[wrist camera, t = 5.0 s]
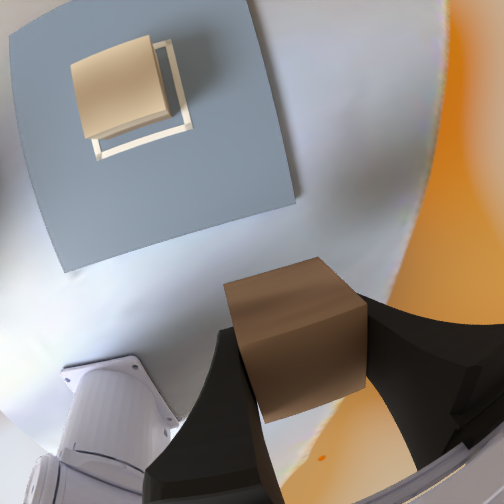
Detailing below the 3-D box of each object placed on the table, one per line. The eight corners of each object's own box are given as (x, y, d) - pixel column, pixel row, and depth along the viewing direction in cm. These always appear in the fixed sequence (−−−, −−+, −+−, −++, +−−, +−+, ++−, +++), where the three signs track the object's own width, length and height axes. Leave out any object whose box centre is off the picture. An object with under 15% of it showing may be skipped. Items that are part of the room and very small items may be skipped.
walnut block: (327, 331, 14) (365, 387, 10) (246, 357, 13) (265, 423, 10) (318, 256, 12) (367, 303, 8) (223, 284, 12) (238, 346, 8)
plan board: (292, 201, 19) (296, 203, 19) (68, 268, 18) (64, 273, 17) (230, -37, 13) (232, -43, 12) (14, 38, 11) (8, 35, 10)
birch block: (172, 117, 15) (165, 109, 12) (107, 139, 15) (85, 138, 11) (157, 57, 14) (148, 34, 10) (94, 80, 14) (70, 65, 10)
